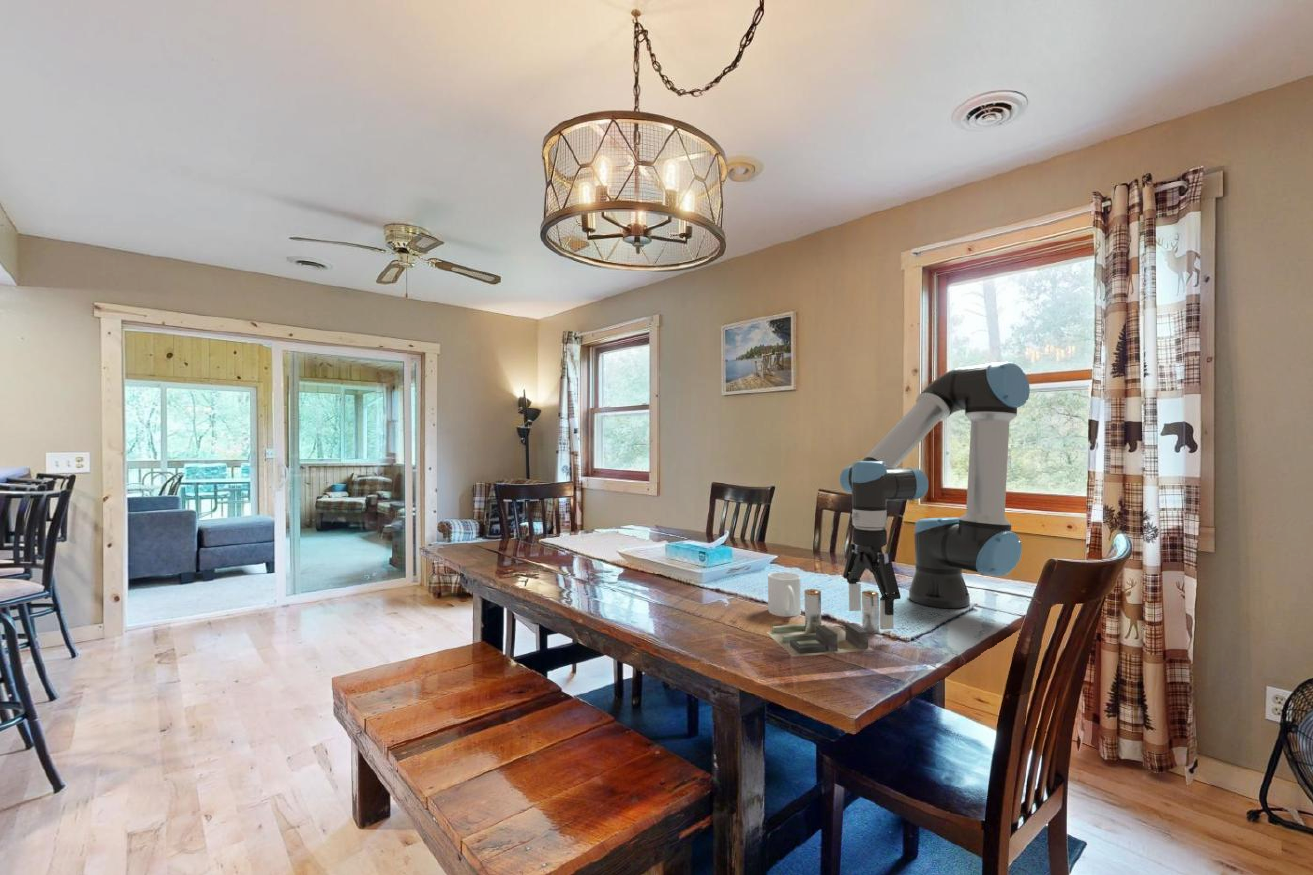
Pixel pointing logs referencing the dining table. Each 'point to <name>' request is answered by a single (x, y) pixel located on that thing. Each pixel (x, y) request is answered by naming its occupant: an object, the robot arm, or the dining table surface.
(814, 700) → the dining table surface
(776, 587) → the mug
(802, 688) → the dining table surface
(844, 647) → the grey battery holder
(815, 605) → the cell
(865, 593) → the cylinder
